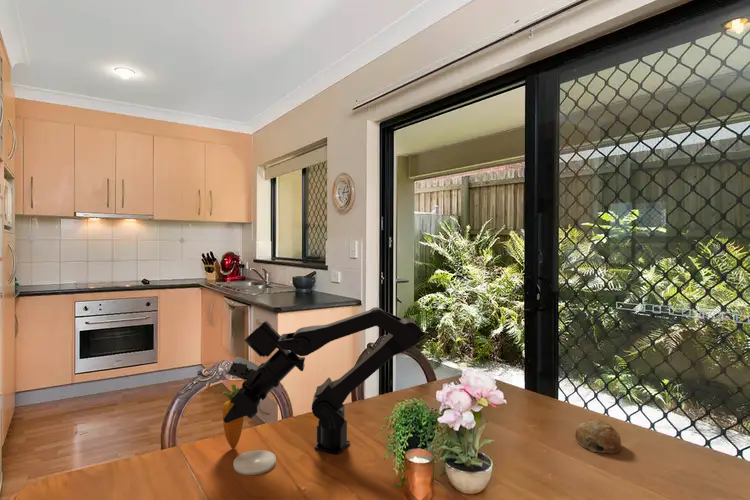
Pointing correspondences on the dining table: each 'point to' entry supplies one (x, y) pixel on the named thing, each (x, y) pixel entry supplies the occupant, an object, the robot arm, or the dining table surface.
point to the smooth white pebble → (254, 462)
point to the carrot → (234, 426)
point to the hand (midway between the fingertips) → (227, 417)
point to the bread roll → (598, 436)
